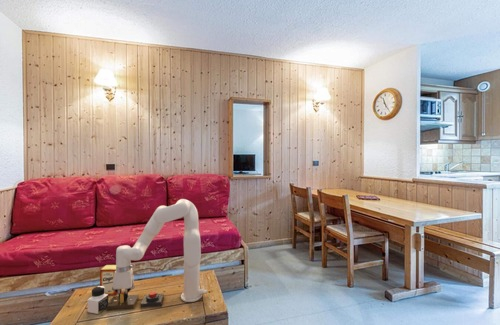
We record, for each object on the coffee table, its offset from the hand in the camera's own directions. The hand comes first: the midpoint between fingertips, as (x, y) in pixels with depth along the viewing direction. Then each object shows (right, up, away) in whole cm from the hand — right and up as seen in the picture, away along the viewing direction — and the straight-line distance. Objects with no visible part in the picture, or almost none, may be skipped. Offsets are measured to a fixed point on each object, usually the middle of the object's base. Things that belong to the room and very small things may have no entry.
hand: (123, 299), depth 142 cm
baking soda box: (-14, -3, +13) cm, 19 cm away
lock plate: (0, -3, 0) cm, 3 cm away
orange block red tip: (0, 0, 0) cm, 0 cm away
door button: (+16, +1, +3) cm, 16 cm away
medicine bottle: (-11, -3, -5) cm, 13 cm away
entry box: (+16, -3, +3) cm, 16 cm away
